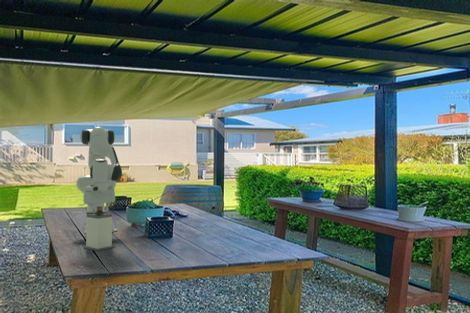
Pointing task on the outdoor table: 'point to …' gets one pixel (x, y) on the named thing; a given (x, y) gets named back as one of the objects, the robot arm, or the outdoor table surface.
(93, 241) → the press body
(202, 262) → the outdoor table surface
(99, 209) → the plunger
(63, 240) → the outdoor table surface
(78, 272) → the outdoor table surface
